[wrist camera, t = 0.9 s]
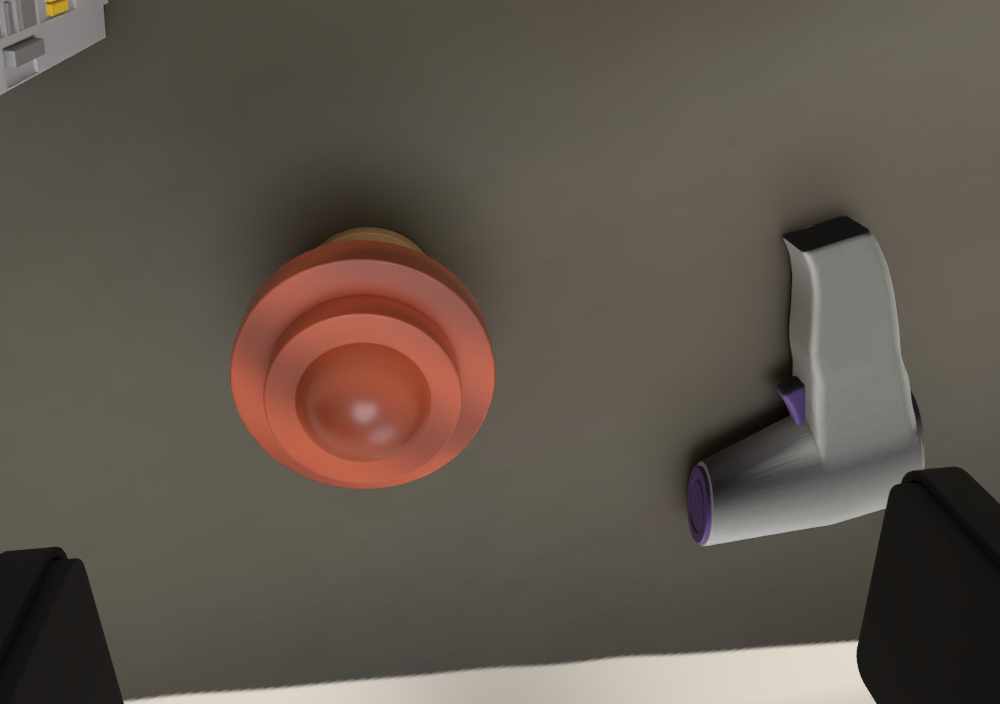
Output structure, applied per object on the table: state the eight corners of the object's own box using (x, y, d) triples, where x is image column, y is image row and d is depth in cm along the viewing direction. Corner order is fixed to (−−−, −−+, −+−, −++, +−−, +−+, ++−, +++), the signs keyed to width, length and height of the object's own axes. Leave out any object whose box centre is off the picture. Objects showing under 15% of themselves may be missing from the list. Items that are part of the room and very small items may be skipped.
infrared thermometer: (860, 202, 44) (897, 458, 50) (618, 280, 44) (684, 524, 51) (907, 228, 40) (941, 504, 46) (639, 314, 40) (708, 575, 46)
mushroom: (314, 147, 39) (286, 246, 29) (515, 248, 42) (557, 371, 32) (225, 335, 43) (169, 485, 32) (416, 416, 46) (424, 577, 35)
